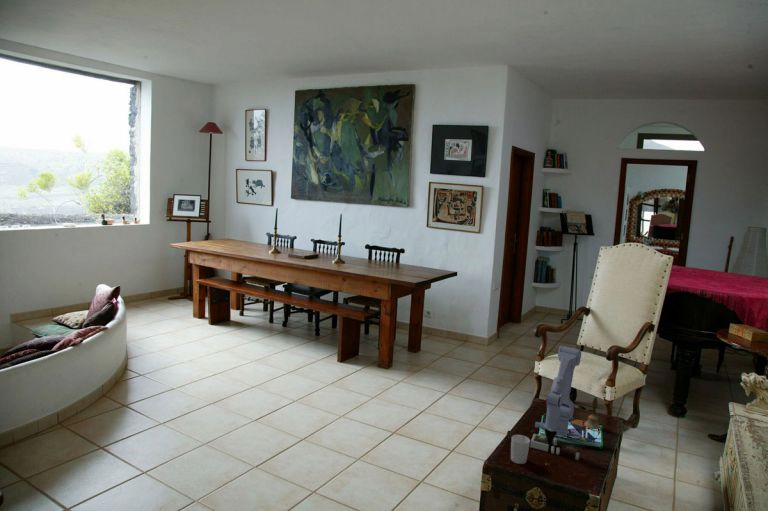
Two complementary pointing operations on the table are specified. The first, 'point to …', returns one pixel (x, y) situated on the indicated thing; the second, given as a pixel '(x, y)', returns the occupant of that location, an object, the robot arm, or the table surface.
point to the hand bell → (593, 417)
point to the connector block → (542, 439)
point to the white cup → (519, 448)
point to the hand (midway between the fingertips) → (549, 444)
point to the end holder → (538, 443)
